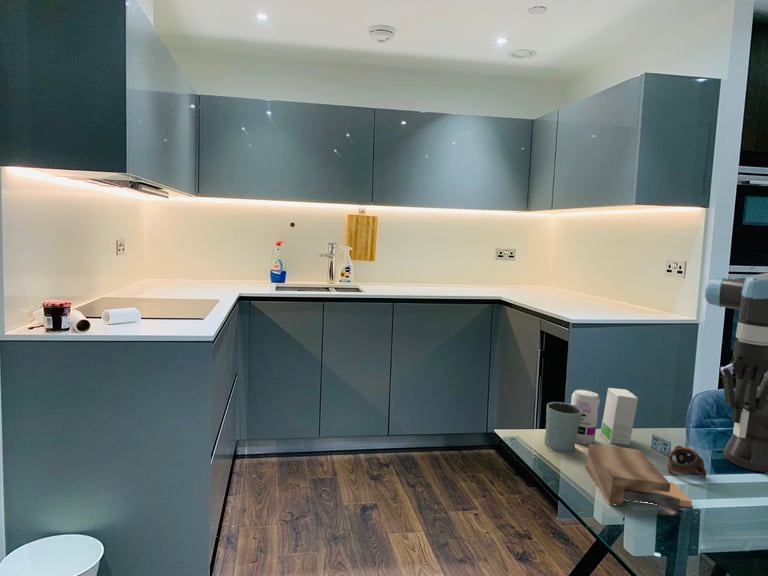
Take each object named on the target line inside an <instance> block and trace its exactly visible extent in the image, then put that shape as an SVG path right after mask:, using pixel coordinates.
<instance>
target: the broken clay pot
mask: <svg viewBox="0 0 768 576" xmlns="http://www.w3.org/2000/svg"><path fill="white" fill-rule="evenodd" d="M674 456H675V459H676V460H674V459H673V457H674ZM704 461H705V460H704V459H703V458H702V457H701V456H700V455H699V454H698V452H696V451H695V450H694V449H692V448H690V447H684V446H681V445H676V446H674V449H673V450H671V451H670V452H669V455H668V462H667V466H666V469H667V471H668V473H670V474H671V472H674V473H678V474H691V473H695V474H697V475H699V473H700V474H701V475H702V476H703V478H704V479H706V478H707V471H706V469H705V464H704V463H705V462H704Z"/></svg>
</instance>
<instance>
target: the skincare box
mask: <svg viewBox="0 0 768 576" xmlns="http://www.w3.org/2000/svg"><path fill="white" fill-rule="evenodd" d="M606 392H607V393H606V398H605V399H606V400H605V403H604V404H605V405H604V412H603V417H602V421H601V427H600V435H601V436H603V438H605V440H606V441H607V442H608V443H609V444H612V445H613V444H615V445H624V446H625V445H626V446H630V444H631V439H632V433H633V430H634V429H633V427H634V423H635V417H636V413H637V406H638V401H639V398H638V397H637V396H636V395H634V393H633V392H630V391H629V390H628V389H624V388H613V387H608V388H607V391H606Z"/></svg>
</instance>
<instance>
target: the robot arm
mask: <svg viewBox="0 0 768 576" xmlns="http://www.w3.org/2000/svg"><path fill="white" fill-rule="evenodd" d="M704 298H705V300H706V302H707V303H708V304H709V305H714V306H717V307H719V308H728V309H734V310H739V315H738V320H737V326H736V332H735V338H737V339H736V340H735V341H734V344H733V350H732V351H733V352H732V353H733V355H732V359H731V360H730V363H729V364H727V365H726V366H718V367H719V368H718V370H719V372H720V373H721V376H722V385H723V392H724V393H723V394H724V402H725V404H726V406H729V407H731V408H732V414H731V415H732V416H731V421H732V422H734V424H733V431H732V435H731V437H730V438H729V440H728V441H727V443H726V444H725V447H724V449H723V453H722V456H723V455H724V456H723V457H725V458H726V459H727V460H726V461H728V460H729V461H728V462H730V463H731V462H732V463H731V464H733V463H734V464H733V465H735V464H736V466H738V465H739V466H738V467H740V466H741V468H743V467H744V468H743V469H746V470H749V469H750V470H749V471H752V470H754V471H753V472H756V471H760V472H759V473H761V472H768V272H765V273H759V274H755V275H750V276H744V277H739V278H737V277H736V278H733V279H731V278H730V279H729V278H725V277H722V278H719V277H715V278H714V277H713V278H712V279H710V280H709V281H708V282H707V284H706V285H705V289H704ZM733 374H735V381H736V382H735V384H734V377H733ZM762 377H763V378H762ZM725 458H724V459H725Z"/></svg>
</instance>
